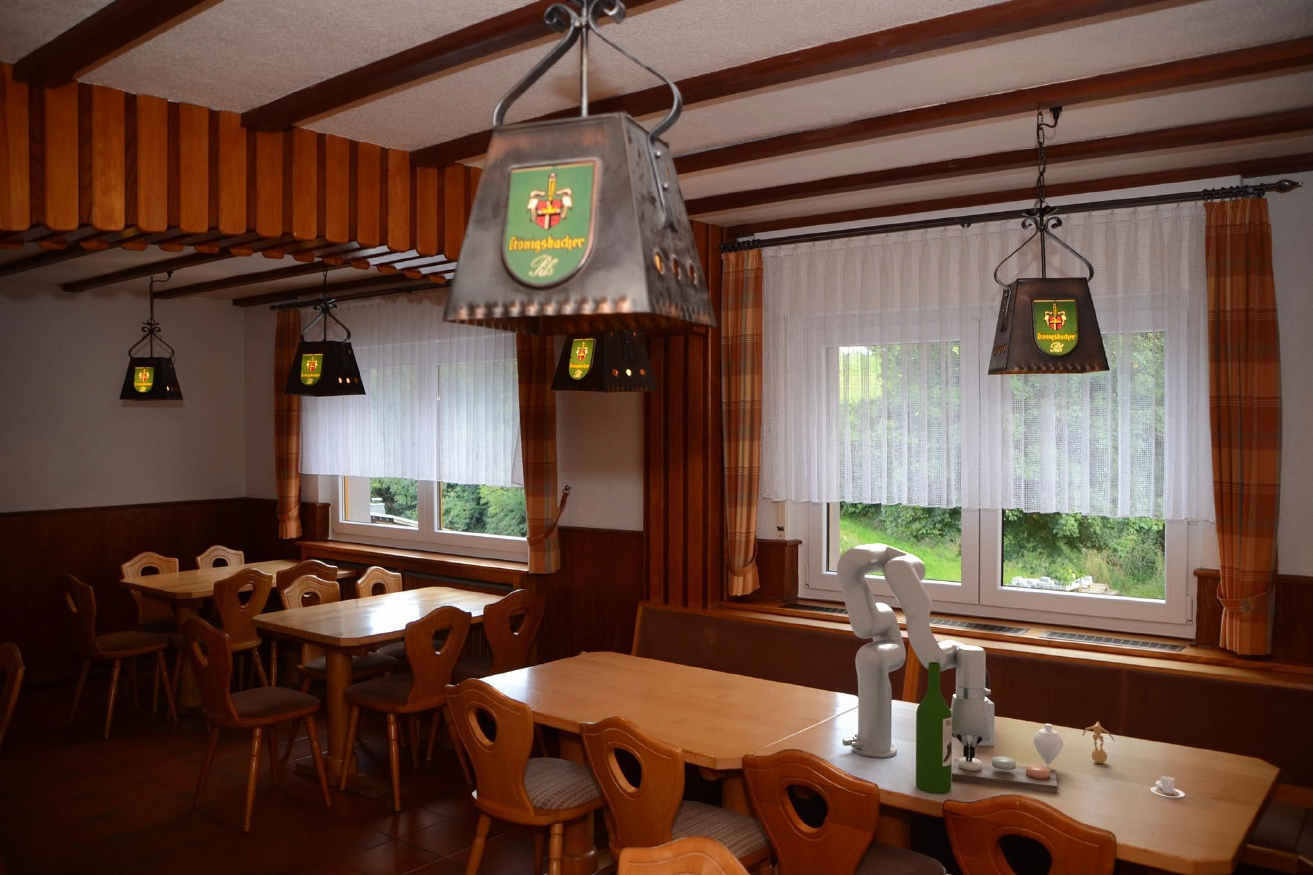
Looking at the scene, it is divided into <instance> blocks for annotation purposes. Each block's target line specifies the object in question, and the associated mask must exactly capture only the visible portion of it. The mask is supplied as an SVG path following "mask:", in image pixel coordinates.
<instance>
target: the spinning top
mask: <svg viewBox="0 0 1313 875" xmlns="http://www.w3.org/2000/svg"><path fill="white" fill-rule="evenodd" d="M1032 741H1033V744H1034V747H1035V749H1036V751H1037V753H1038V755H1040V757H1041V759H1042V761H1043V762H1044V763H1045V764H1046V765H1047V766H1046V767H1047V768H1049V769H1050V767H1049V765H1051V763H1053V762H1054V760H1055V759H1056V758H1057V757H1058V755H1059V754H1060V753H1061V751H1062V749H1063V746H1064V740H1063V737H1062V736H1061V735H1060V733H1059V732H1058V731H1057V730H1054V729H1053V724H1051V723H1045V724H1044V728H1041V729H1038V731H1037V732H1036V733H1035V734H1034V736H1033V740H1032Z"/></svg>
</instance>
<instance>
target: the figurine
mask: <svg viewBox="0 0 1313 875" xmlns="http://www.w3.org/2000/svg"><path fill="white" fill-rule="evenodd" d="M1090 730H1093V732H1094V733H1093V734H1092V739H1093V740H1094V742H1093V744H1094V749H1093V750H1092V752H1091V758H1092V760H1093V761H1094V762H1095V763H1097V764H1104V763H1105V762H1106V761H1107V760H1108V756H1107V755H1108V754H1107V752H1106V751H1105V749H1103V745H1104V736H1103V735H1101V734H1102V732H1104V733H1106V734H1108V735H1109V737H1110V738H1111V740H1113V742H1115V738H1114V737H1113V736H1112V735H1111V732H1110V731H1108V730H1106V729H1105V728H1103V727H1102V726H1101V724H1100V721H1096V723H1095V724H1094V725H1092V726H1089V727H1085V728H1084V731H1083V733H1082V736H1081V737H1084V736H1085V733H1086V732H1087V731H1090ZM1098 740H1099V741H1100V744H1099V745H1100V746H1099V748H1098V747H1097V745H1098V744H1097V741H1098Z"/></svg>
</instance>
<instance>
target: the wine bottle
mask: <svg viewBox="0 0 1313 875" xmlns="http://www.w3.org/2000/svg"><path fill="white" fill-rule="evenodd" d="M928 664H929V665H928V670H927V671H928V673H927V676H928V678H927V692H926V694H925V696H924V697H923V699H922V700H921V701H920V703H919V704H918V706H917V709H916V713H915V716H916V717H915V785H916V789H917V790H918V791H921V792H923V793H926V794H933V795H944V794H949V793H950V792H951V791H952V768H953V765H952V762H953V760H952V759H953V758H952V753H953V752H952V751H953V750H952V747H953V745H952V743H953V742H952V741H953V737H952V714H951V707H949V704H948V703H947V701H946V700H945V698H944V696H943V695H942V692H941V672H940V663H937V662H930V663H928Z"/></svg>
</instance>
